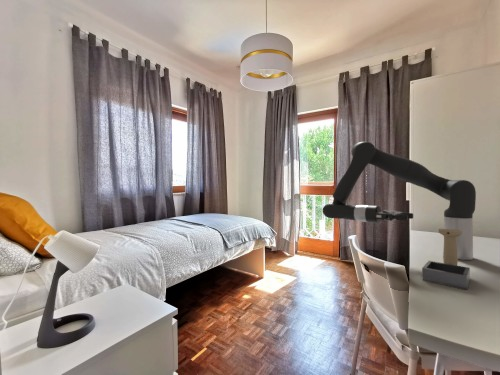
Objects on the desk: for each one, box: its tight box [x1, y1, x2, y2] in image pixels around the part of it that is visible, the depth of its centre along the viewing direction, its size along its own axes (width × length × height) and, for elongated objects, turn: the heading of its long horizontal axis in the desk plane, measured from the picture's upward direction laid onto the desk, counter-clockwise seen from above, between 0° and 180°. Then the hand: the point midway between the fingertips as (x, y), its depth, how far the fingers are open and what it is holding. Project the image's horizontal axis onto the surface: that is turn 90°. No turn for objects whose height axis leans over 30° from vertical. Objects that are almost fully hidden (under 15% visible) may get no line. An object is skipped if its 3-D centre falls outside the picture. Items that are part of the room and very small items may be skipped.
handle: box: [438, 228, 462, 266], centre depth 84 cm, size 5×6×15 cm
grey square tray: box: [421, 260, 471, 291], centre depth 77 cm, size 11×11×4 cm
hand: (410, 216), depth 93 cm, fingers open, 8 cm apart
